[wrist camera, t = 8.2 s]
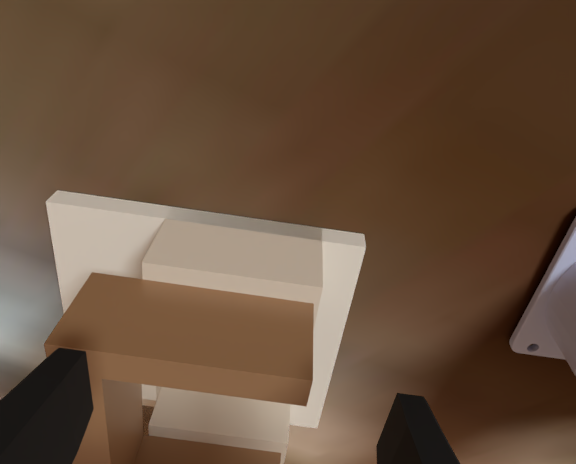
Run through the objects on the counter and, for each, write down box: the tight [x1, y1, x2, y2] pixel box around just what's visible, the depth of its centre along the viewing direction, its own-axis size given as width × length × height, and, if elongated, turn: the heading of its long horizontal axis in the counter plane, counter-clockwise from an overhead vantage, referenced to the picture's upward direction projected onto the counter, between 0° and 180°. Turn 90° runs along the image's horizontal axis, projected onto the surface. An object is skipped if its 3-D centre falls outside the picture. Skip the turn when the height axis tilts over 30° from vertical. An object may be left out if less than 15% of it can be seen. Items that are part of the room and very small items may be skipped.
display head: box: [46, 190, 366, 464], centre depth 21 cm, size 13×12×4 cm
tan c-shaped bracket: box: [44, 272, 314, 464], centre depth 18 cm, size 8×10×4 cm
